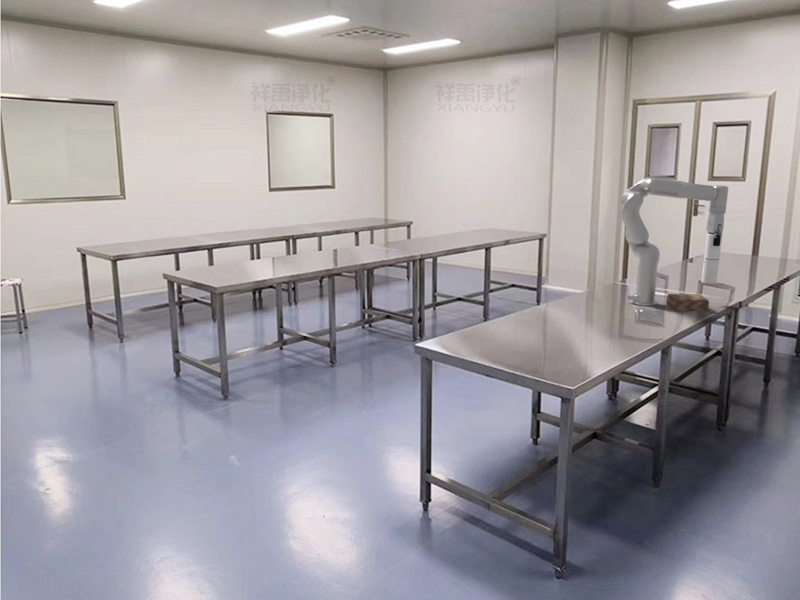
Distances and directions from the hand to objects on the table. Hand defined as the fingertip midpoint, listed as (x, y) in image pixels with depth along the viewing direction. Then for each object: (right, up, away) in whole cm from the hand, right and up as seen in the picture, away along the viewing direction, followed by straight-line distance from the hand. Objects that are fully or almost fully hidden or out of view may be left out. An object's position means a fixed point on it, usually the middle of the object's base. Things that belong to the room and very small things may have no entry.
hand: (713, 244), depth 325 cm
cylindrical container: (0, -20, +5) cm, 20 cm away
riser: (-15, -33, -3) cm, 36 cm away
